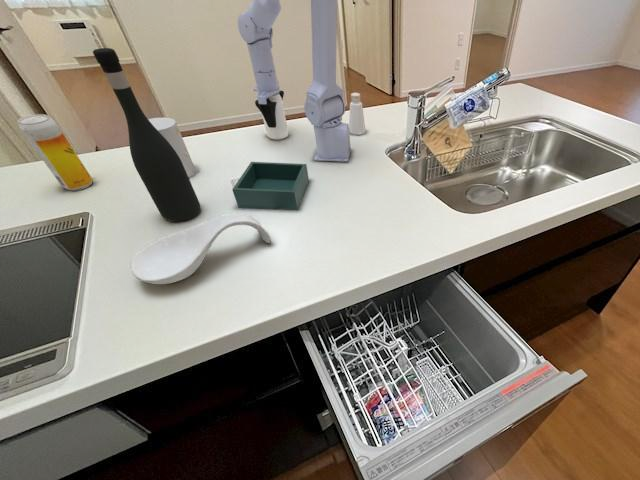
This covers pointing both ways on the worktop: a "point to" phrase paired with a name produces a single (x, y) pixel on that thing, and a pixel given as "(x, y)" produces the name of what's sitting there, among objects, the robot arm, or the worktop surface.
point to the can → (277, 120)
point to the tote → (271, 186)
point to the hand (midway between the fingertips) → (275, 122)
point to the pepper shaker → (356, 116)
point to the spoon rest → (185, 249)
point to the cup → (174, 141)
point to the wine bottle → (151, 149)
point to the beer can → (55, 151)
